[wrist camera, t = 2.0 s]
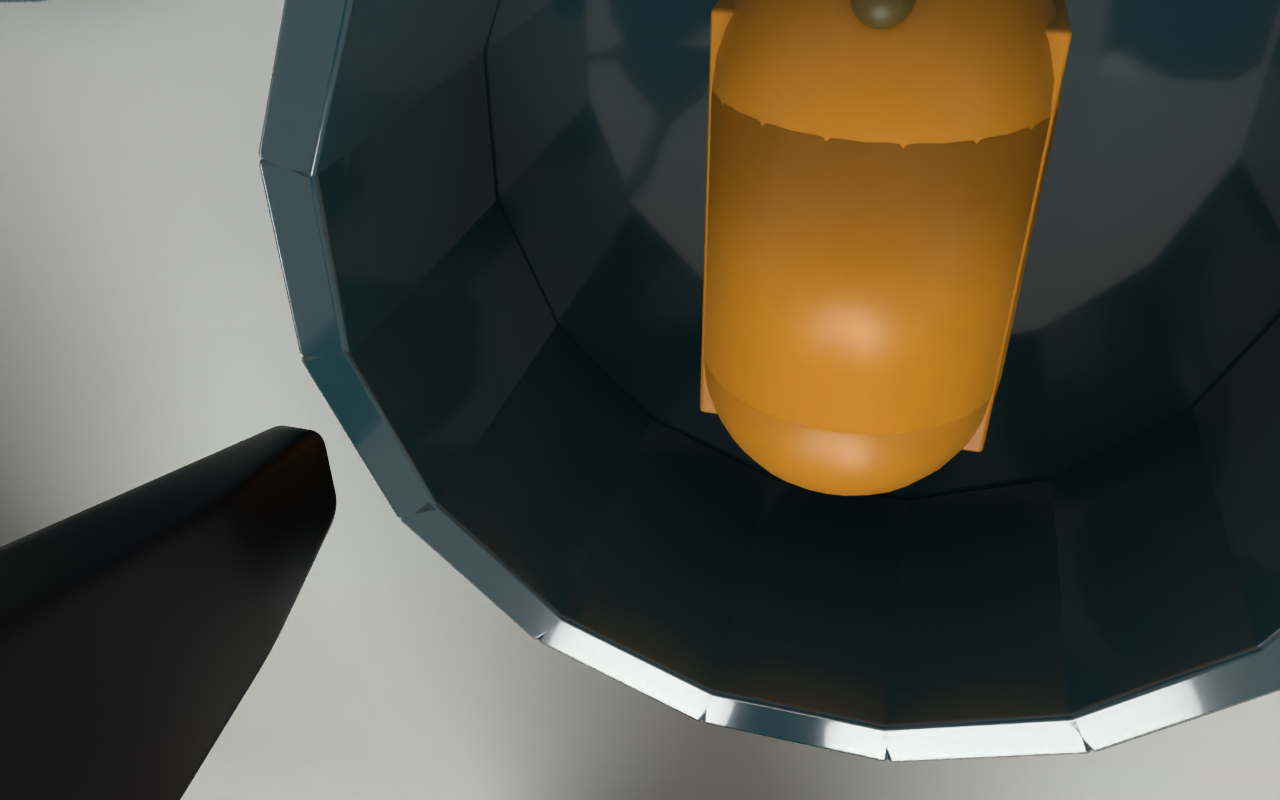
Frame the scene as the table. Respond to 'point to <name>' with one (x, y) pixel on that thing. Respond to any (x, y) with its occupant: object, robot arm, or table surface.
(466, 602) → the table surface
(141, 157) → the table surface
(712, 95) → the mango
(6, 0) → the lid
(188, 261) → the table surface
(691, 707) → the pot
